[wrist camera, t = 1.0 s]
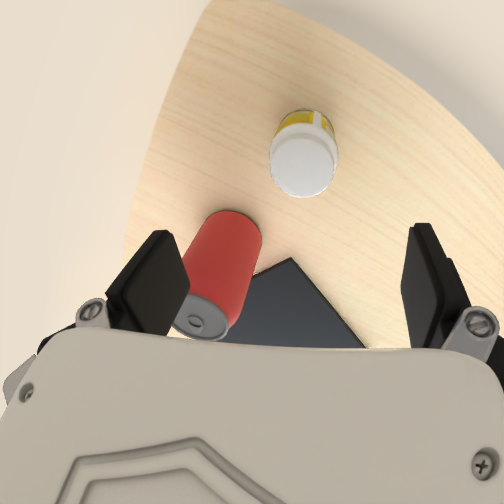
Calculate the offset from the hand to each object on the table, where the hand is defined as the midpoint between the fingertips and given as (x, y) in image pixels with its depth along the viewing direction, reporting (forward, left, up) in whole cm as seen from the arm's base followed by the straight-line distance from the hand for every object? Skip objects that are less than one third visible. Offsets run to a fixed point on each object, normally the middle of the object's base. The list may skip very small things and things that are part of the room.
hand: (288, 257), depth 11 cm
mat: (+20, -19, -17) cm, 32 cm away
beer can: (+4, -12, -17) cm, 21 cm away
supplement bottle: (0, 0, -17) cm, 17 cm away
